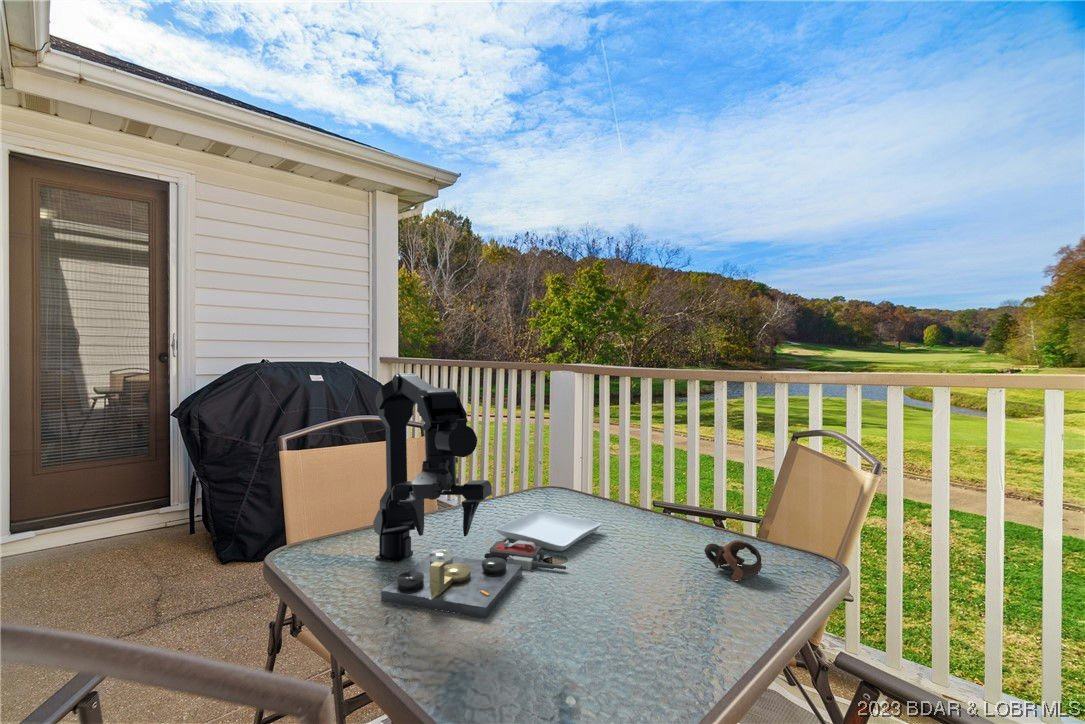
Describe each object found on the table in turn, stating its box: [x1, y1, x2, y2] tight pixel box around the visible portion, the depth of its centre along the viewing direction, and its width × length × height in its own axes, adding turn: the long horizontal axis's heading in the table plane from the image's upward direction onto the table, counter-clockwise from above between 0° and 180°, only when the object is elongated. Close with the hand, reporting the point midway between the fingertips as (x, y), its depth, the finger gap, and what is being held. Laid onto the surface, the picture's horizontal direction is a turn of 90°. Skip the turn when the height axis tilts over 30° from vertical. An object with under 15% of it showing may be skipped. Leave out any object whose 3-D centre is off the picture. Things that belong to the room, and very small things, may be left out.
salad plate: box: [495, 509, 602, 552], centre depth 138 cm, size 21×21×3 cm
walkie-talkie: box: [483, 539, 567, 571], centre depth 121 cm, size 9×4×20 cm
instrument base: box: [380, 548, 523, 619], centre depth 107 cm, size 22×20×5 cm
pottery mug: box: [704, 540, 763, 582], centre depth 115 cm, size 12×10×8 cm
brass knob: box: [430, 561, 471, 596], centre depth 104 cm, size 12×6×6 cm, turn 163°
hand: (443, 535), depth 100 cm, fingers open, 9 cm apart
